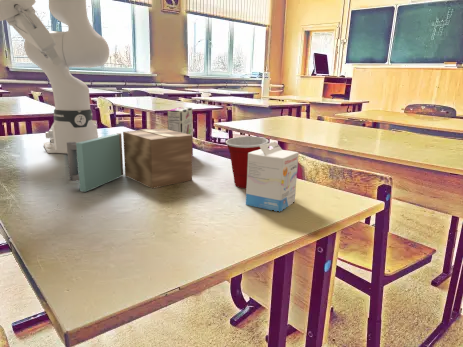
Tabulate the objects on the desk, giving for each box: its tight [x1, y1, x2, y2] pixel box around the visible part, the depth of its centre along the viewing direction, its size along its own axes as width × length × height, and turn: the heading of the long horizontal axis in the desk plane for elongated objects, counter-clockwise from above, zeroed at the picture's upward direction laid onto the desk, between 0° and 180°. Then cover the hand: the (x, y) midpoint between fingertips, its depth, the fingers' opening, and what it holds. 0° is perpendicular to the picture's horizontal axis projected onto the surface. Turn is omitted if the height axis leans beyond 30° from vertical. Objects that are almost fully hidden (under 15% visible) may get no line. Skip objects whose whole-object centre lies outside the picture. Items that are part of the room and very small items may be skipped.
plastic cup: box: [225, 135, 270, 189], centre depth 91 cm, size 11×11×12 cm
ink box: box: [245, 141, 300, 213], centre depth 78 cm, size 9×8×13 cm
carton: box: [122, 128, 193, 189], centre depth 95 cm, size 14×12×12 cm
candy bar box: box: [166, 106, 194, 156], centre depth 117 cm, size 11×5×16 cm, turn 168°
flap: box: [66, 132, 124, 193], centre depth 89 cm, size 16×6×11 cm, turn 162°
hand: (53, 60), depth 87 cm, fingers open, 8 cm apart
